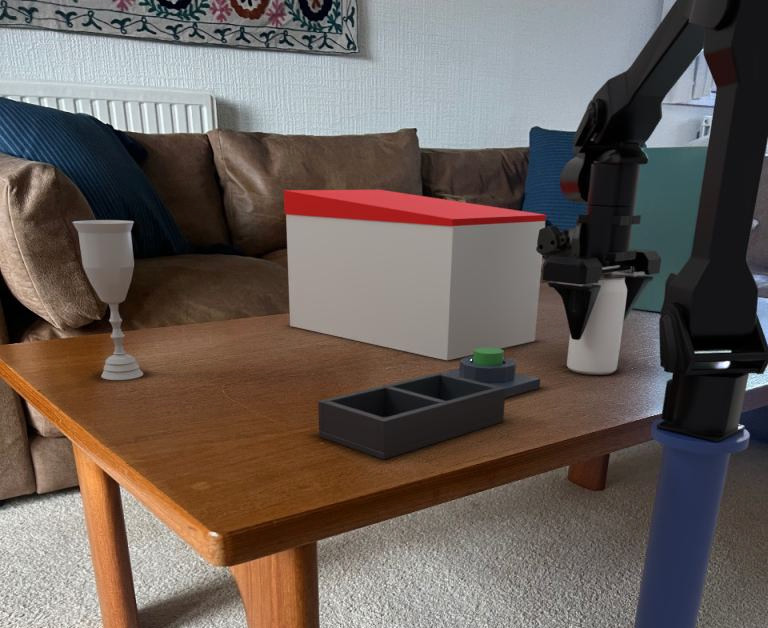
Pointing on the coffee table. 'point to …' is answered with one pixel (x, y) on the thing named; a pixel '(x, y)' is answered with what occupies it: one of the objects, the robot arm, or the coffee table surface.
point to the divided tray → (410, 414)
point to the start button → (488, 356)
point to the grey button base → (497, 376)
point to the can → (601, 330)
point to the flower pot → (667, 213)
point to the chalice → (110, 281)
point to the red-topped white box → (412, 270)
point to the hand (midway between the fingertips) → (595, 335)
